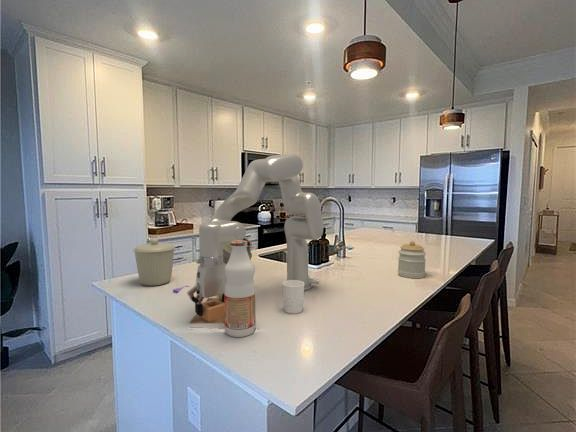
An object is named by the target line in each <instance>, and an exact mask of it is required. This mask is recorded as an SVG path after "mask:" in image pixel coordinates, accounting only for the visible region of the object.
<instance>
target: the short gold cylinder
mask: <svg viewBox="0 0 576 432" xmlns="http://www.w3.org/2000/svg"><path fill="white" fill-rule="evenodd" d="M222 295H223V294H220V295H217V296H216V298H217V299H218V300H220V301H222V297H221V296H222Z"/></svg>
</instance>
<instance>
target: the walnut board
mask: <svg viewBox="0 0 576 432" xmlns="http://www.w3.org/2000/svg"><path fill="white" fill-rule="evenodd" d="M214 299H217V297H216V298H215V297H209V298H206V300H205V302H207V301H210V300H214ZM189 324H225V317H222V318H219V319H216V320H213V321H210V322H209V321H207V320H205V319H203V318H202V317H200V316H198V315H197V314H196V313H195V315H194V316H193V317H192V319H191V320H190V321H189ZM192 328H195V329H198V328H199V329H203V327H194V326H193V327H189V329H192Z"/></svg>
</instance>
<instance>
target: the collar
mask: <svg viewBox="0 0 576 432" xmlns="http://www.w3.org/2000/svg"><path fill="white" fill-rule="evenodd" d="M201 304H203V316H200V317H202V318H203V319H205V320H207V321H209V322H210V321H213V320H216V319H219V318H222V317H225V303H224V302H222V301H220V300H218V299H214V300H210V301H207V302H206V301H202V302H201ZM210 306H212V307H210ZM198 316H199V315H198Z"/></svg>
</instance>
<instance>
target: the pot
mask: <svg viewBox="0 0 576 432" xmlns="http://www.w3.org/2000/svg"><path fill="white" fill-rule="evenodd" d="M243 240H245V241H247V247H246V249H247V252H248V255H249V258H250V260H251V261H252V257H253V254H252V250H251V247H252V246H253V243H252V242H251V241H250V240H249V239H248V238H246V236H245V237H244V239H243ZM231 252H232V247H231V243H224V244H223V263H225V264H227V263H228V261H229V258H230V255H231Z"/></svg>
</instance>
